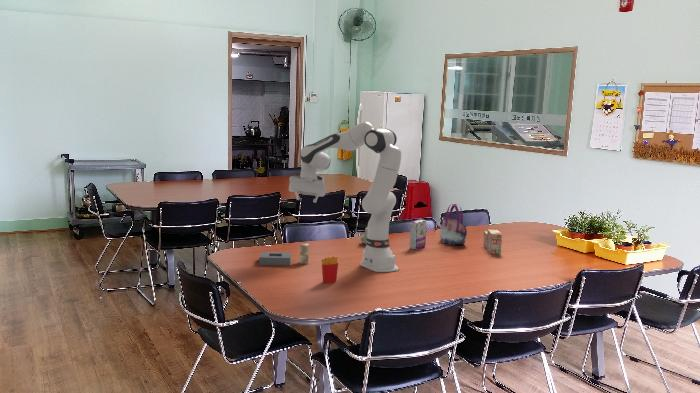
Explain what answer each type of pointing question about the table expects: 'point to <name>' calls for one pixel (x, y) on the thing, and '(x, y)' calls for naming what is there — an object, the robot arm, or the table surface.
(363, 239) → the air freshener
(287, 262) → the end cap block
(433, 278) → the table surface
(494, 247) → the beige snack box
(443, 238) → the handbag
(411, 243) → the candy bar box
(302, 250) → the tan tall block
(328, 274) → the french fries
